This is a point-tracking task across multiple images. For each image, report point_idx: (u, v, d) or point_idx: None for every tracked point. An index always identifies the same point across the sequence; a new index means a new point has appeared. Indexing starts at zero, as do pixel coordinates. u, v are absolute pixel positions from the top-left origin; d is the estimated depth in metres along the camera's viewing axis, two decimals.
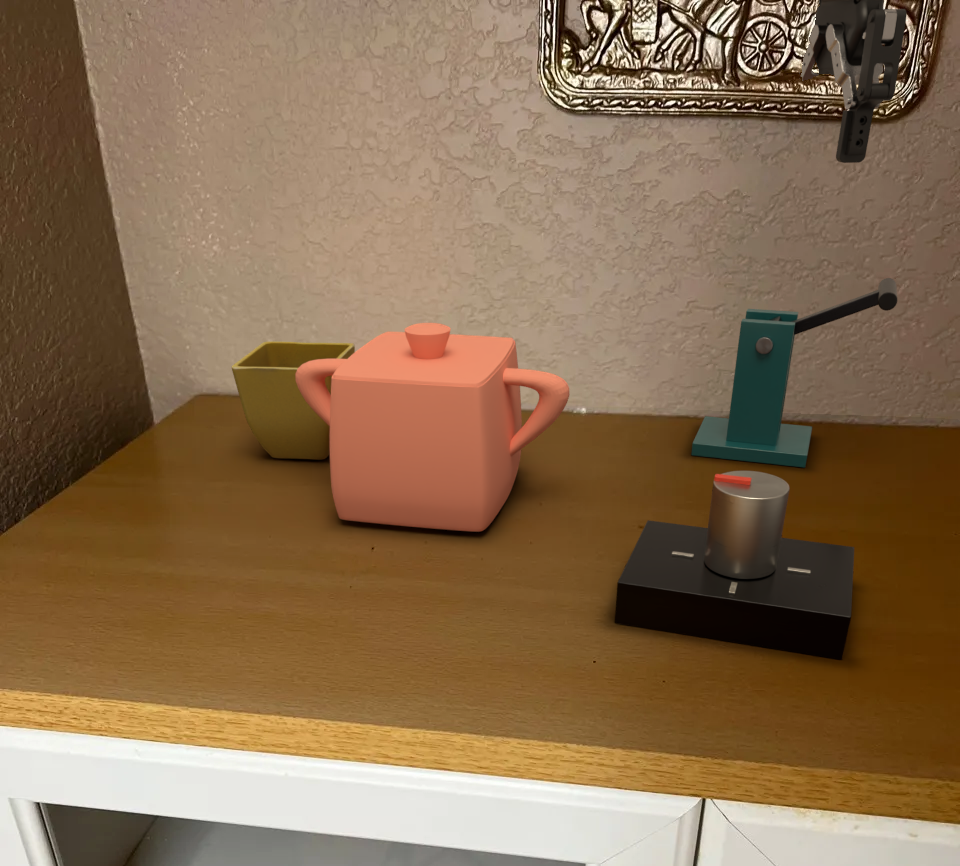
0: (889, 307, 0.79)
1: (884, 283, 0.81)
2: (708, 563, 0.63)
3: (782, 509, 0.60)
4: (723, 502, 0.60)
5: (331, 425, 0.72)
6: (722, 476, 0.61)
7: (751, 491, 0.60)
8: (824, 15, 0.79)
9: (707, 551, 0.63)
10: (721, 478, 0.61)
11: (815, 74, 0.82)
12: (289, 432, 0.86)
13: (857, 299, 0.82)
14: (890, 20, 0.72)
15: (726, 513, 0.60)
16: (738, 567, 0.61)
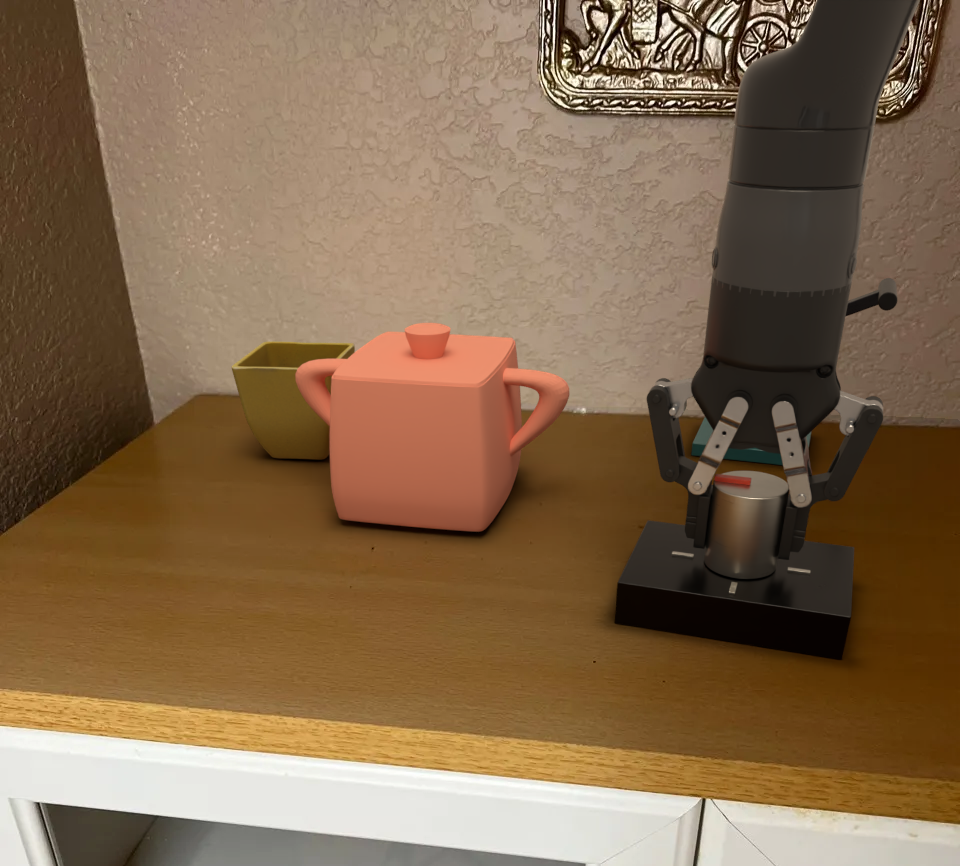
0: (889, 307, 0.79)
1: (884, 283, 0.81)
2: (708, 563, 0.63)
3: (782, 509, 0.60)
4: (723, 502, 0.60)
5: (331, 425, 0.72)
6: (722, 476, 0.61)
7: (751, 491, 0.60)
8: (732, 380, 0.57)
9: (707, 551, 0.63)
10: (721, 478, 0.61)
11: None
12: (289, 432, 0.86)
13: (857, 299, 0.82)
14: None
15: (726, 513, 0.60)
16: (738, 567, 0.61)
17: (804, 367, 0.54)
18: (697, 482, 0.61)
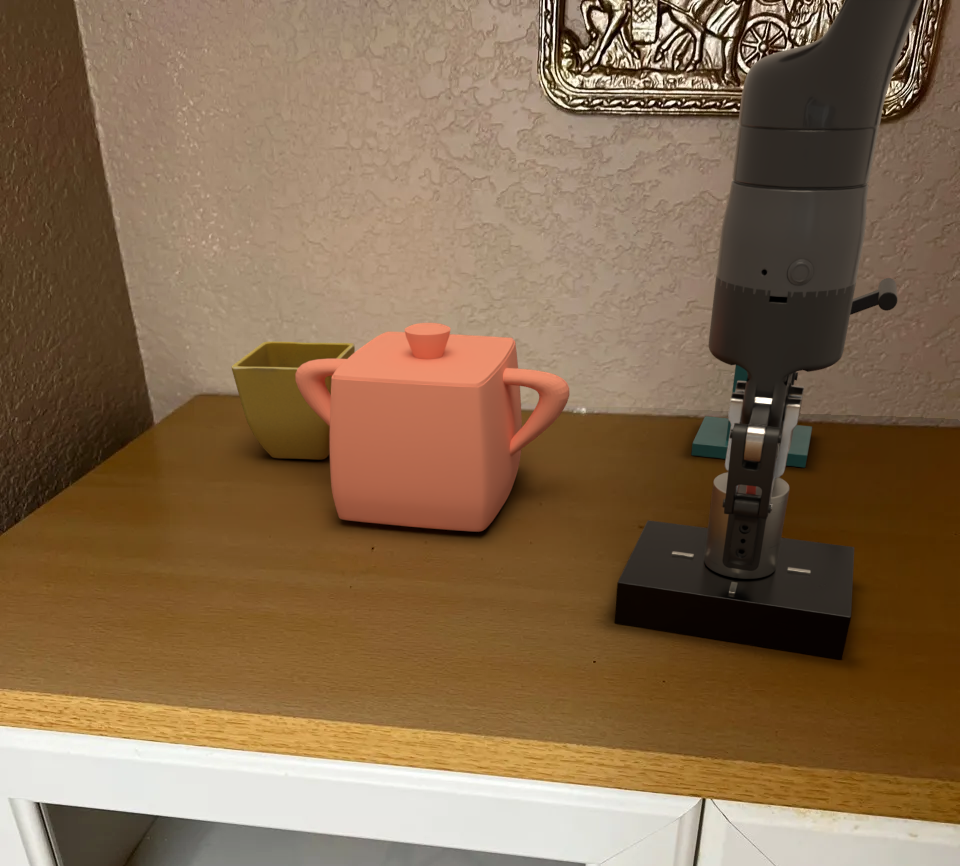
0: (889, 307, 0.79)
1: (884, 283, 0.81)
2: (761, 573, 0.62)
3: None
4: (780, 505, 0.60)
5: (331, 425, 0.72)
6: (752, 490, 0.59)
7: None
8: (787, 389, 0.56)
9: None
10: (755, 491, 0.59)
11: None
12: (289, 432, 0.86)
13: (857, 299, 0.82)
14: None
15: (781, 513, 0.60)
16: None
17: None
18: (770, 503, 0.58)
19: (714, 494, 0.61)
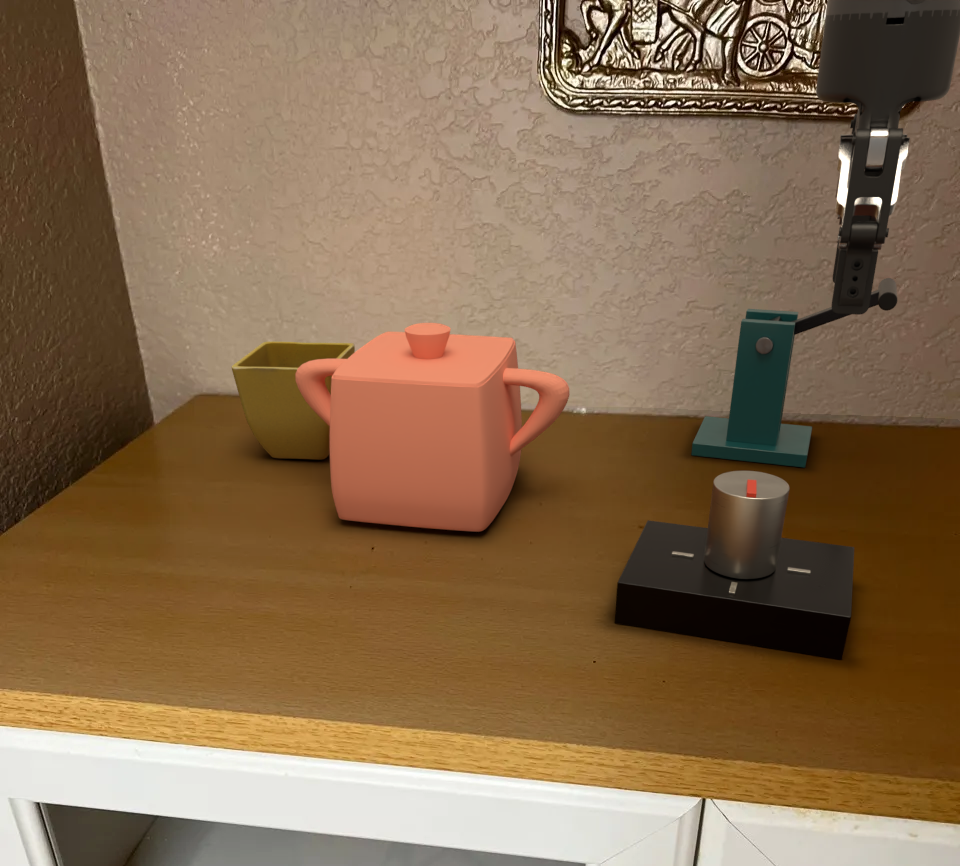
0: (889, 307, 0.79)
1: (884, 283, 0.81)
2: (761, 573, 0.62)
3: None
4: (780, 505, 0.60)
5: (331, 425, 0.72)
6: (753, 490, 0.59)
7: (771, 484, 0.61)
8: None
9: (758, 564, 0.61)
10: (756, 491, 0.59)
11: None
12: (289, 432, 0.86)
13: None
14: None
15: (781, 513, 0.60)
16: None
17: None
18: None
19: (714, 494, 0.61)
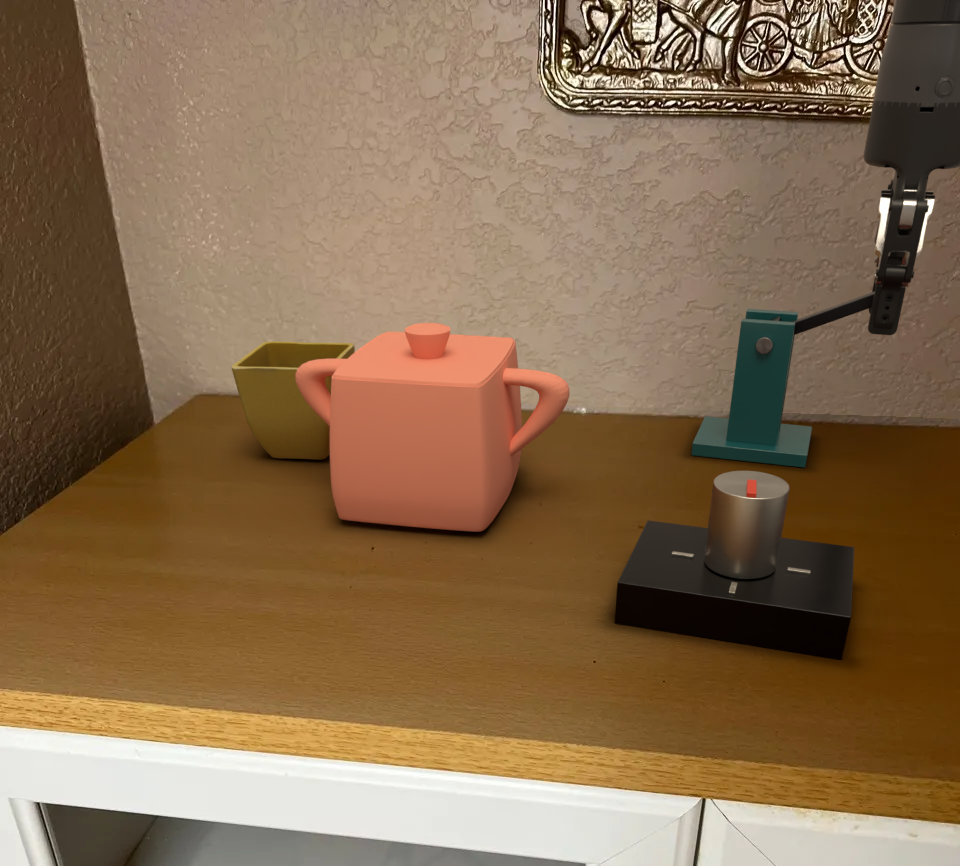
0: None
1: None
2: (761, 573, 0.62)
3: None
4: (780, 505, 0.60)
5: (331, 425, 0.72)
6: (753, 490, 0.59)
7: (771, 484, 0.61)
8: None
9: (758, 564, 0.61)
10: (756, 491, 0.59)
11: None
12: (289, 432, 0.86)
13: (857, 299, 0.82)
14: None
15: (781, 513, 0.60)
16: None
17: None
18: None
19: (714, 494, 0.61)
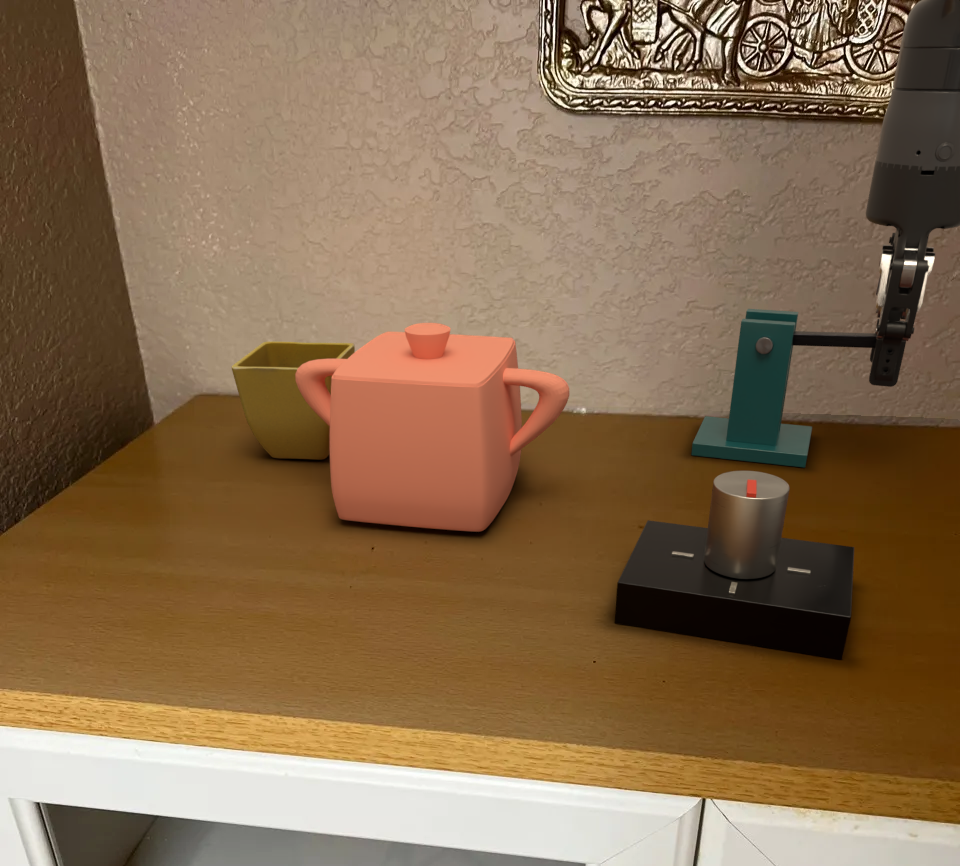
0: None
1: None
2: (761, 573, 0.62)
3: None
4: (780, 505, 0.60)
5: (331, 425, 0.72)
6: (753, 490, 0.59)
7: (771, 484, 0.61)
8: None
9: (758, 564, 0.61)
10: (756, 491, 0.59)
11: None
12: (289, 432, 0.86)
13: (862, 335, 0.83)
14: None
15: (781, 513, 0.60)
16: None
17: None
18: None
19: (714, 494, 0.61)
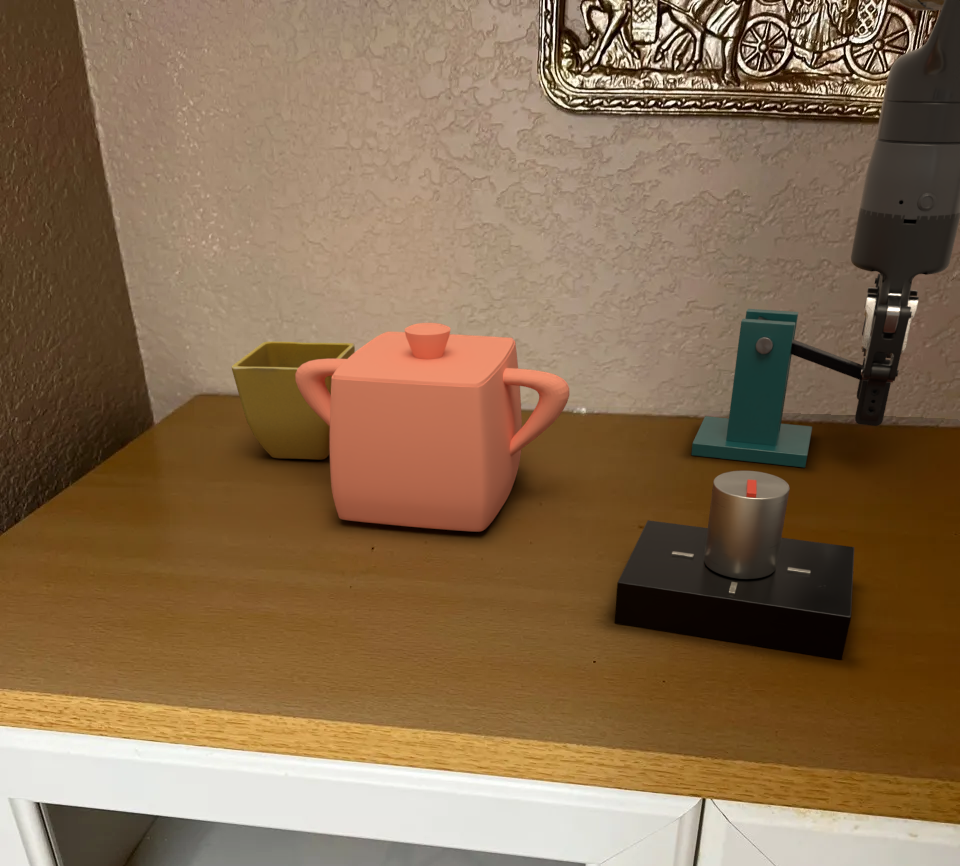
0: None
1: None
2: (761, 573, 0.62)
3: None
4: (780, 505, 0.60)
5: (331, 425, 0.72)
6: (753, 490, 0.59)
7: (771, 484, 0.61)
8: None
9: (758, 564, 0.61)
10: (756, 491, 0.59)
11: None
12: (289, 432, 0.86)
13: (854, 364, 0.84)
14: None
15: (781, 513, 0.60)
16: None
17: None
18: None
19: (714, 494, 0.61)
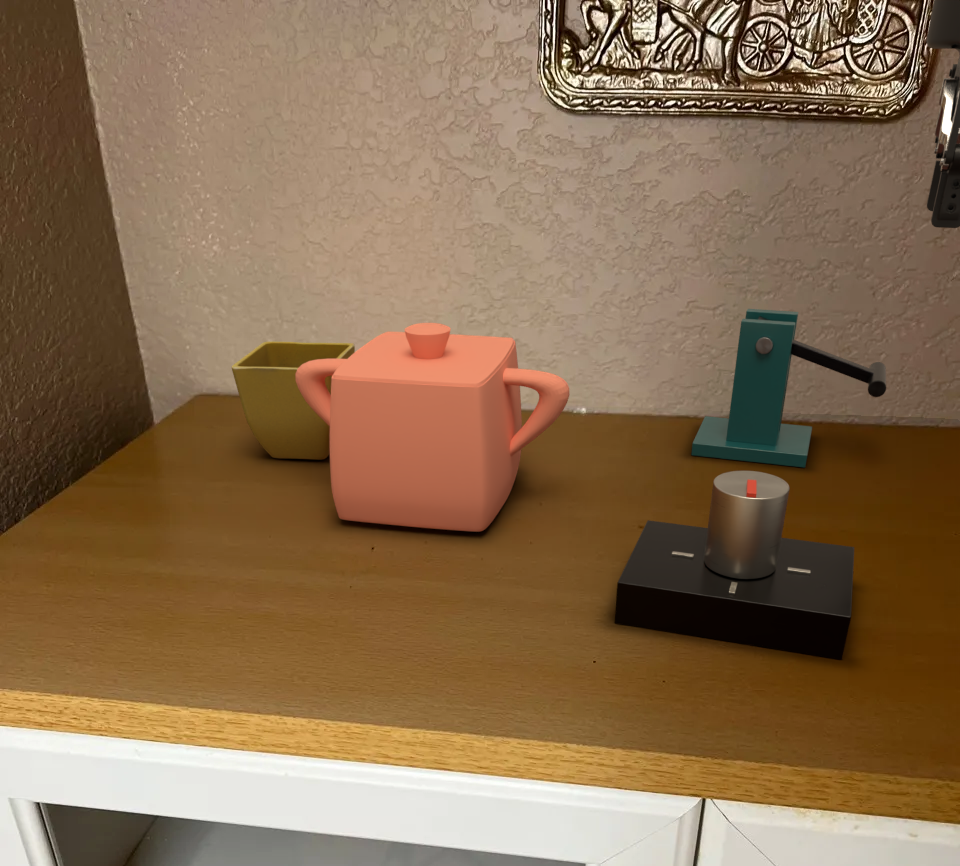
0: (874, 394, 0.82)
1: (880, 368, 0.85)
2: (761, 573, 0.62)
3: None
4: (780, 505, 0.60)
5: (331, 425, 0.72)
6: (753, 490, 0.59)
7: (771, 484, 0.61)
8: None
9: (758, 564, 0.61)
10: (756, 491, 0.59)
11: None
12: (289, 432, 0.86)
13: (854, 365, 0.84)
14: None
15: (781, 513, 0.60)
16: None
17: None
18: None
19: (714, 494, 0.61)
